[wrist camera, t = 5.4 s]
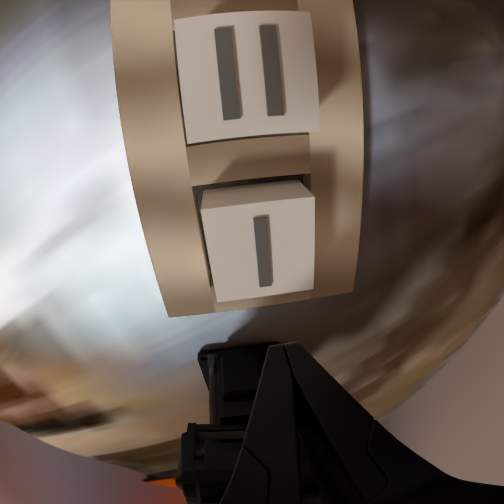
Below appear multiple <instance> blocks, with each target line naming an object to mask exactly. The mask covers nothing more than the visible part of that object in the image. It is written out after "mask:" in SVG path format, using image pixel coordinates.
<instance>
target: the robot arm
mask: <svg viewBox="0 0 504 504" xmlns="http://www.w3.org/2000/svg"><path fill="white" fill-rule="evenodd" d="M198 362H199V365H200V368H201V370H202V373H203V376H204V379H205V382H206V385H207V387H208V390H209V412H210V424H196V423H188V428H187V432H185V433H183V434H182V443H181V456H180V461H179V465H178V470H177V474H176V486H177V487H179V488H180V489H181V490H182V491H183V493H184V496H185V498H186V501H187V504H504V486H499V485H490V484H483V483H476V482H470V481H465V480H460V479H457V478H455V477H452V476H450V475H448V474H446V473H444V472H443V471H441V470H440V469H438V468H437V467H435V466H434V465H432V464H431V463H429V462H428V461H426V460H425V459H423V458H422V457H421V456H419V455H418V454H416V453H415V452H413V451H412V450H411V449H409V448H408V447H407V446H405V445H404V444H403V443H401V442H400V441H399V440H397V439H396V438H395V437H394V436H393V435H392V434H391V433H390V432H388V431H387V430H386V429H385V428H384V427H383V426H382V425H381V424H380V423H379V422H378V421H377V420H374V417H373V416H372V415H370V414H369V413H368V412H367V411H366V410H365V409H364V408H363V407H362V406H361V405H360V404H359V403H358V402H357V401H356V400H355V399H354V398H353V397H352V396H351V395H350V394H349V393H348V392H347V391H346V390H345V389H344V388H343V387H342V386H341V385H340V384H339V383H338V382H337V381H336V380H335V379H334V378H333V377H332V376H331V375H330V374H329V373H328V372H327V371H326V370H325V369H324V368H323V367H322V366H321V365H320V364H319V363H318V362H317V361H316V360H315V359H314V358H313V357H312V356H311V355H310V354H309V353H308V352H307V351H306V350H305V349H304V348H303V346H302V345H301V344H300V343H298V342H290V343H285V344H284V345H282V344H281V343H280V342H270V343H264V344H256V345H249V346H241V347H233V348H224V349H215V350H205V351H200V352H199V353H198Z"/></svg>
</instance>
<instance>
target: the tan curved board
mask: <svg viewBox="0 0 504 504" xmlns="http://www.w3.org/2000/svg"><path fill="white" fill-rule="evenodd" d="M243 11H304V12H310V14H311V22H312V30H313V39H314V48H315V59H316V70H317V82H318V97H319V113H320V132H299V133H281V134H268V135H256V136H246V137H236V138H227V139H219V140H212V141H204V142H198V143H191V144H187V137H186V129H185V122H184V114H183V106H182V97H181V89H180V80H179V70H178V60H177V50H176V39H175V27H174V20H176V19H182V18H188V17H194V16H201V15H209V14H218V13H229V12H243ZM111 30H112V47H113V60H114V71H115V81H116V90H117V98H118V106H119V113H120V120H121V126H122V133H123V139H124V145H125V150H126V156H127V161H128V166H129V171H130V176H131V181H132V186H133V190H134V195H135V199H136V204H137V208H138V212H139V216H140V220H141V224H142V228H143V232H144V236H145V240H146V244H147V247H148V251H149V255H150V258H151V262H152V265H153V269H154V272H155V275H156V279H157V282H158V285H159V289H160V292H161V295H162V298H163V301H164V304H165V307H166V310H167V313H168V316H169V317H179V316H189V315H198V314H207V313H216V312H224V311H233V310H240V309H248V308H256V307H263V306H270V305H277V304H284V303H290V302H297V301H303V300H309V299H315V298H321V297H327V296H333V295H339V294H344V293H350V292H354V284H355V276H356V268H357V259H358V249H359V238H360V226H361V211H362V193H363V160H364V128H363V96H362V79H361V66H360V54H359V44H358V36H357V27H356V20H355V13H354V6H353V0H111ZM295 174H303V181H304V186H305V187H306V188H307V189H308V190H309V191H310V192H311V193H312V194H313V195H314V197H315V251H314V287H313V289H310V290H304V291H297V292H291V293H284V294H277V295H270V296H263V297H256V298H248V299H240V300H233V301H225V302H217V298H216V293H215V288H214V283H213V278H212V273H210V269H209V264H208V259H207V253H206V248H205V242H204V237H203V231H202V225H201V219H200V213H199V207H198V201H197V195H196V189H195V186H198V185H205V184H213V183H220V182H228V181H236V180H245V179H253V178H263V177H273V176H284V175H295Z"/></svg>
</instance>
